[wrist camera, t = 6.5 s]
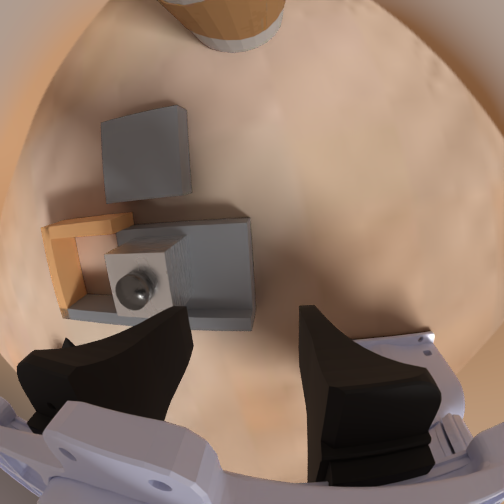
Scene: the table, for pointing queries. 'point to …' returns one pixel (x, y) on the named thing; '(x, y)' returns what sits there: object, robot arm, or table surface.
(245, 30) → the coffee cup
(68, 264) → the rail
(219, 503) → the robot arm
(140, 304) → the metal block
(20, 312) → the table surface
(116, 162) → the gray square block
